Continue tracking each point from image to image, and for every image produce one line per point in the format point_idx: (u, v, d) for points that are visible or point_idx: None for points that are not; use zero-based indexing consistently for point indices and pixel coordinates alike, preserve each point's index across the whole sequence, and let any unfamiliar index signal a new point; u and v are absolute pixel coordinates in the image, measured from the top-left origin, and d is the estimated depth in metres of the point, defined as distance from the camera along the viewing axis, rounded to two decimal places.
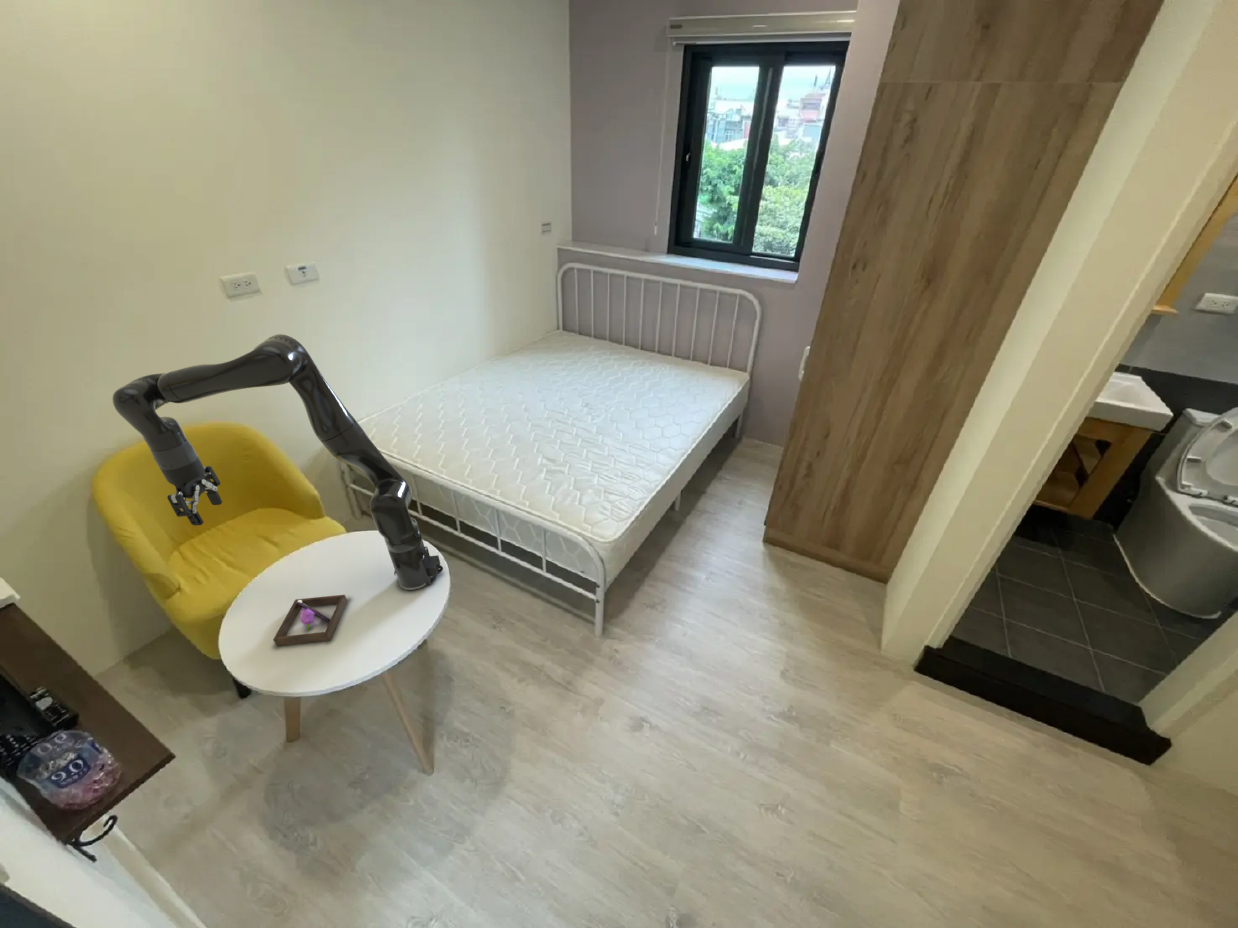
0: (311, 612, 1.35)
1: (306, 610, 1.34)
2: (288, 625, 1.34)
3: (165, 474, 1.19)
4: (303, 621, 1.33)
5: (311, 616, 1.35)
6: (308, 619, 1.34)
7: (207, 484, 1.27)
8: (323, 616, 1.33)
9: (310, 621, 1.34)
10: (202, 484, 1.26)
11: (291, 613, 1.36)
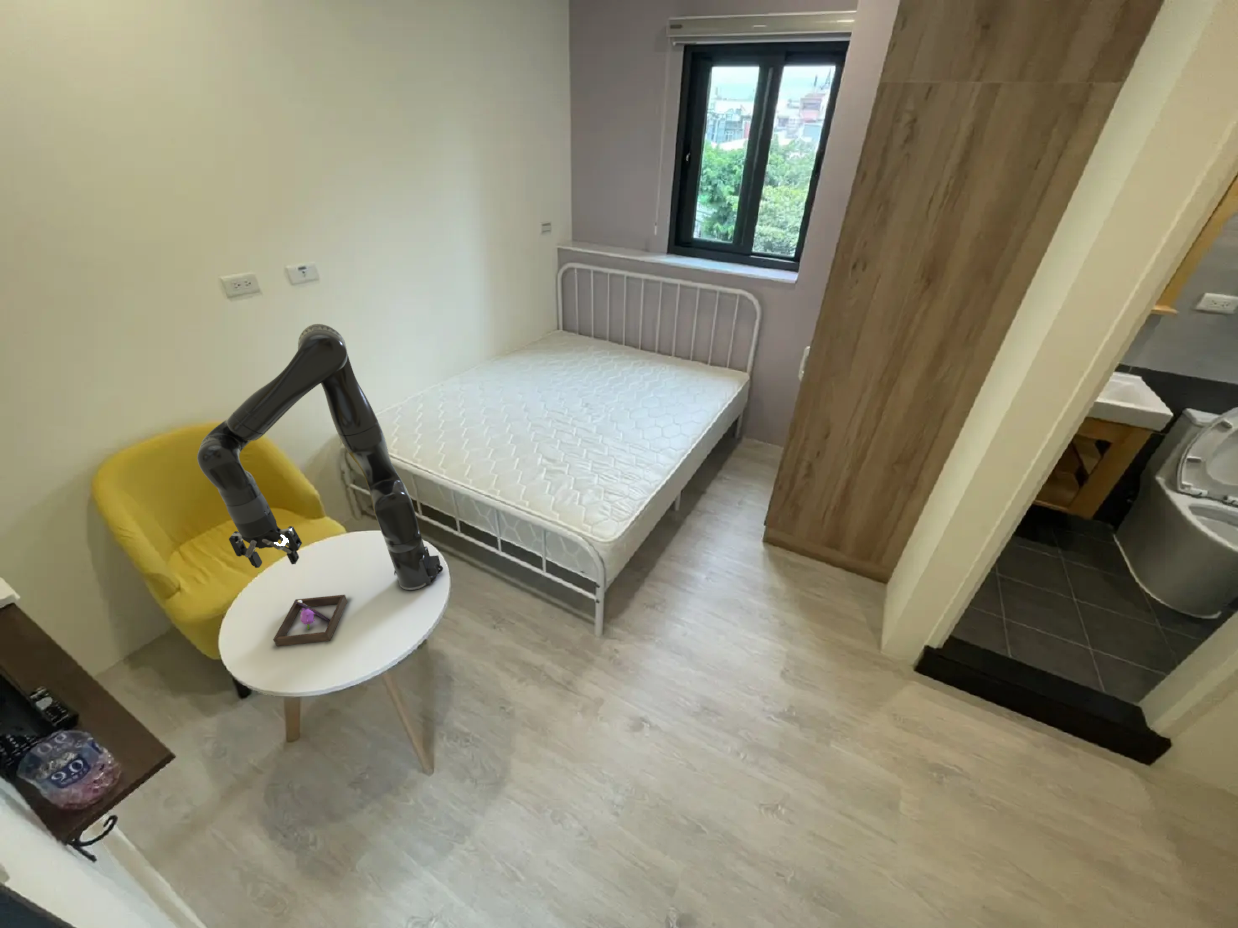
0: (311, 612, 1.35)
1: (306, 610, 1.34)
2: (288, 625, 1.34)
3: None
4: (303, 621, 1.33)
5: (311, 616, 1.35)
6: (308, 619, 1.34)
7: (272, 544, 1.22)
8: (323, 616, 1.33)
9: (310, 621, 1.34)
10: None
11: (291, 613, 1.36)
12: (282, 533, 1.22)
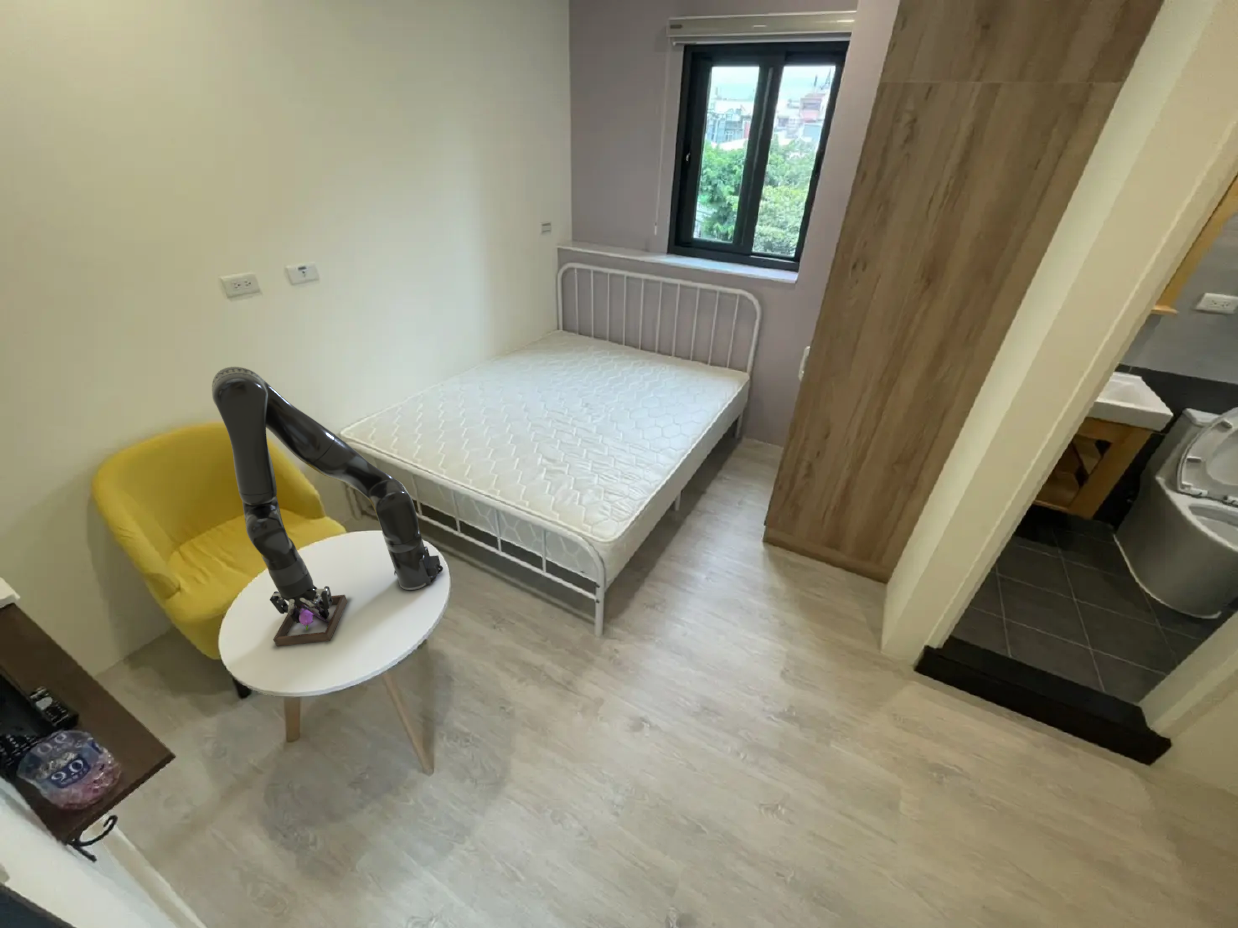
0: (310, 613, 1.34)
1: (305, 611, 1.34)
2: (288, 625, 1.34)
3: None
4: (302, 622, 1.33)
5: (310, 617, 1.34)
6: (307, 620, 1.33)
7: (307, 603, 1.30)
8: (321, 617, 1.33)
9: (309, 622, 1.34)
10: None
11: None
12: (319, 593, 1.31)
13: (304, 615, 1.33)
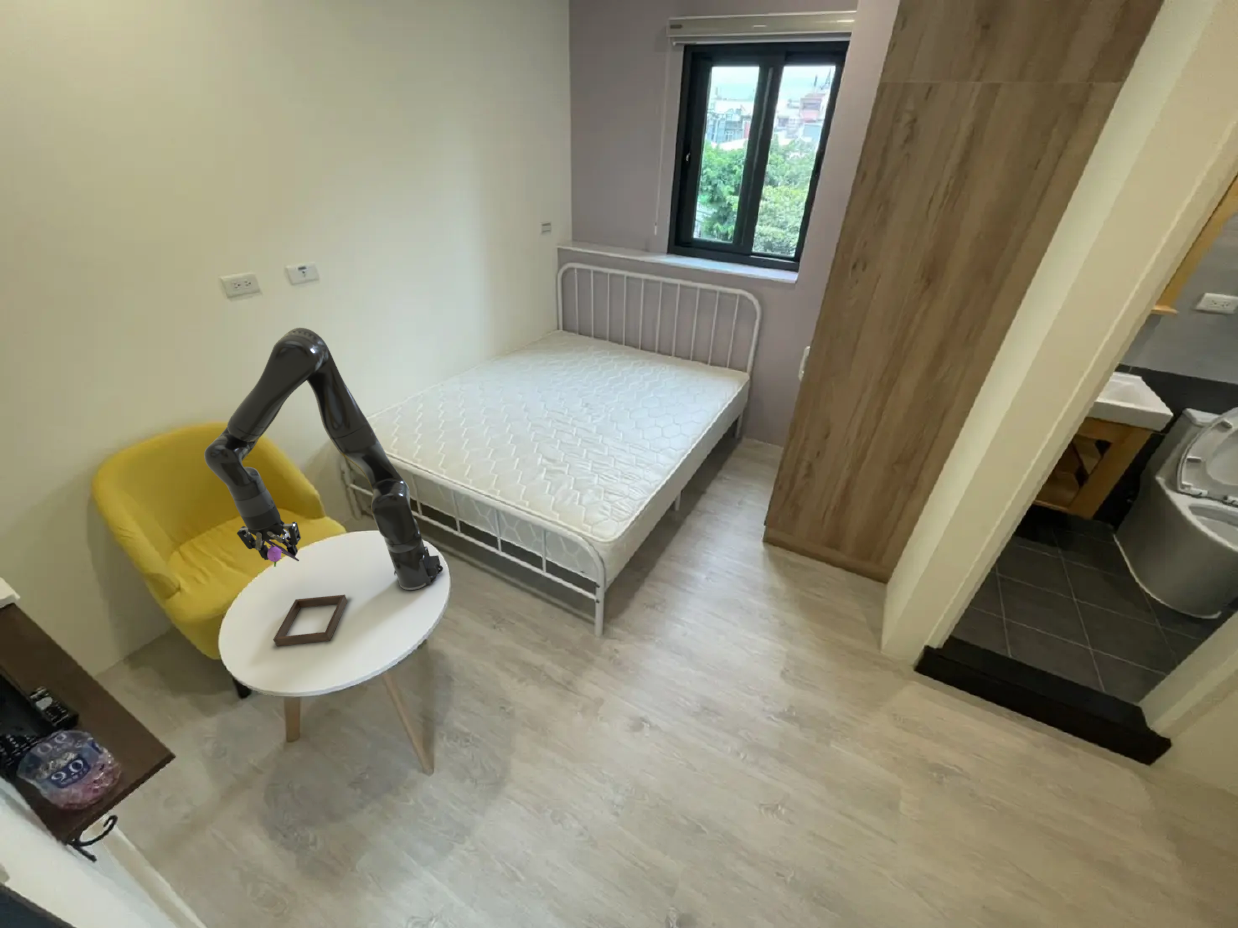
0: (278, 550, 1.35)
1: (273, 547, 1.35)
2: (288, 625, 1.34)
3: None
4: (270, 558, 1.34)
5: (278, 554, 1.35)
6: (275, 556, 1.34)
7: (275, 537, 1.31)
8: (289, 553, 1.33)
9: (277, 558, 1.35)
10: None
11: (291, 613, 1.36)
12: (287, 528, 1.31)
13: (272, 551, 1.34)
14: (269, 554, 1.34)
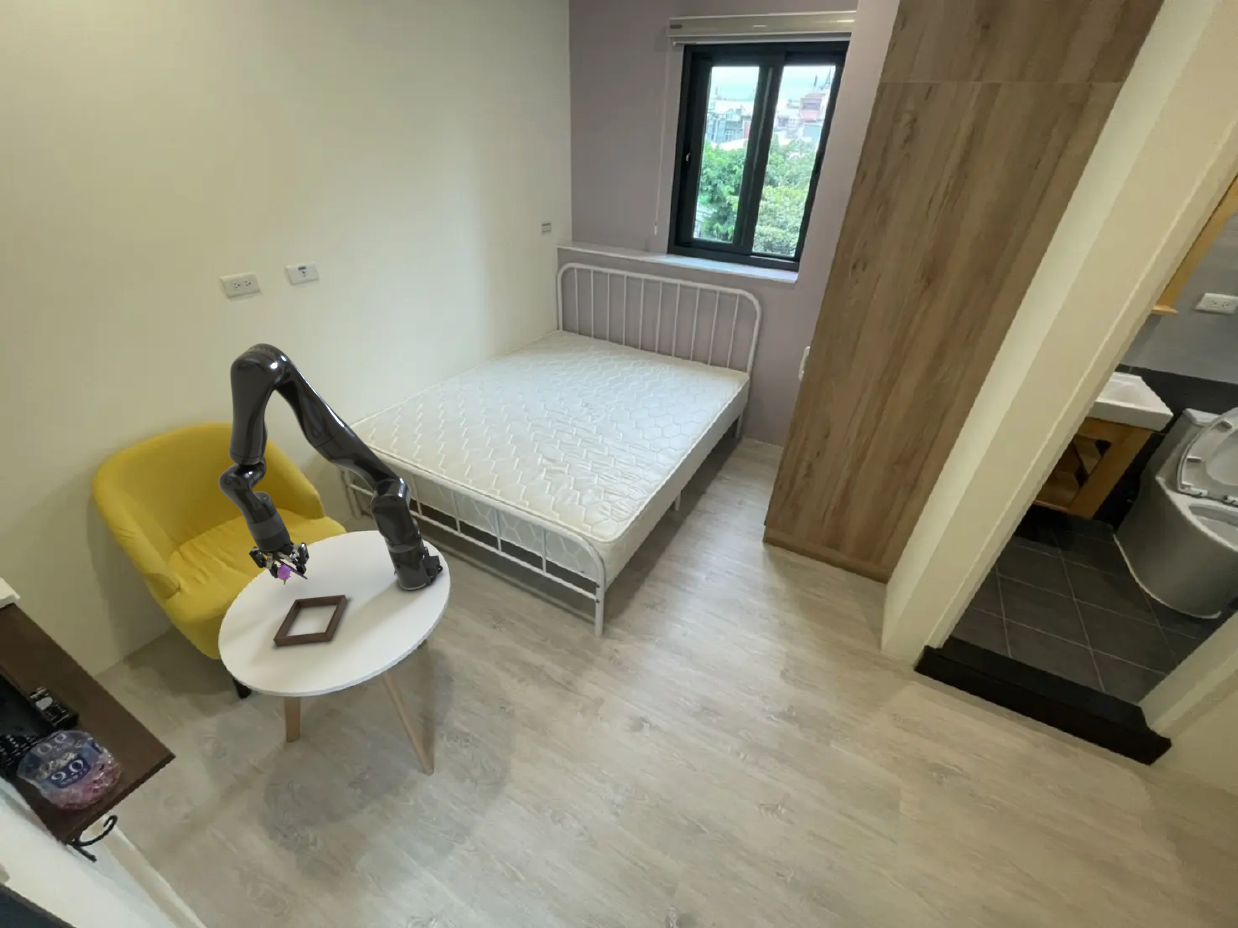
0: (288, 568, 1.42)
1: (283, 566, 1.41)
2: (288, 625, 1.34)
3: None
4: (280, 576, 1.40)
5: (287, 572, 1.42)
6: (284, 575, 1.41)
7: (285, 557, 1.37)
8: (298, 572, 1.40)
9: (286, 577, 1.41)
10: None
11: (291, 613, 1.36)
12: (296, 549, 1.38)
13: (282, 570, 1.41)
14: (279, 573, 1.40)
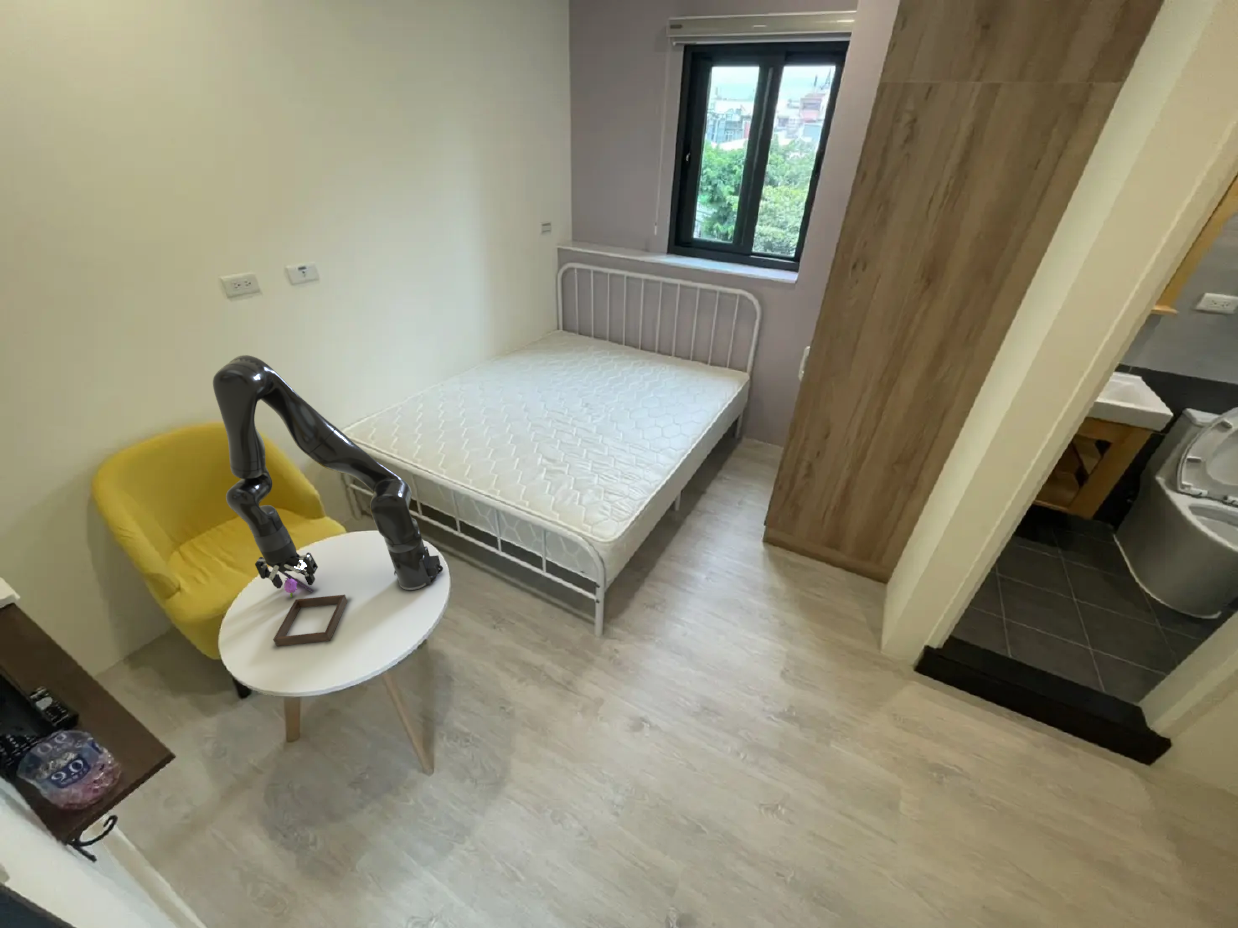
0: (294, 581, 1.44)
1: (289, 579, 1.44)
2: (288, 625, 1.34)
3: None
4: (286, 589, 1.43)
5: (294, 585, 1.44)
6: (291, 588, 1.43)
7: (292, 569, 1.40)
8: (304, 585, 1.43)
9: (293, 590, 1.44)
10: None
11: (291, 613, 1.36)
12: (301, 559, 1.40)
13: (288, 583, 1.43)
14: (286, 586, 1.43)
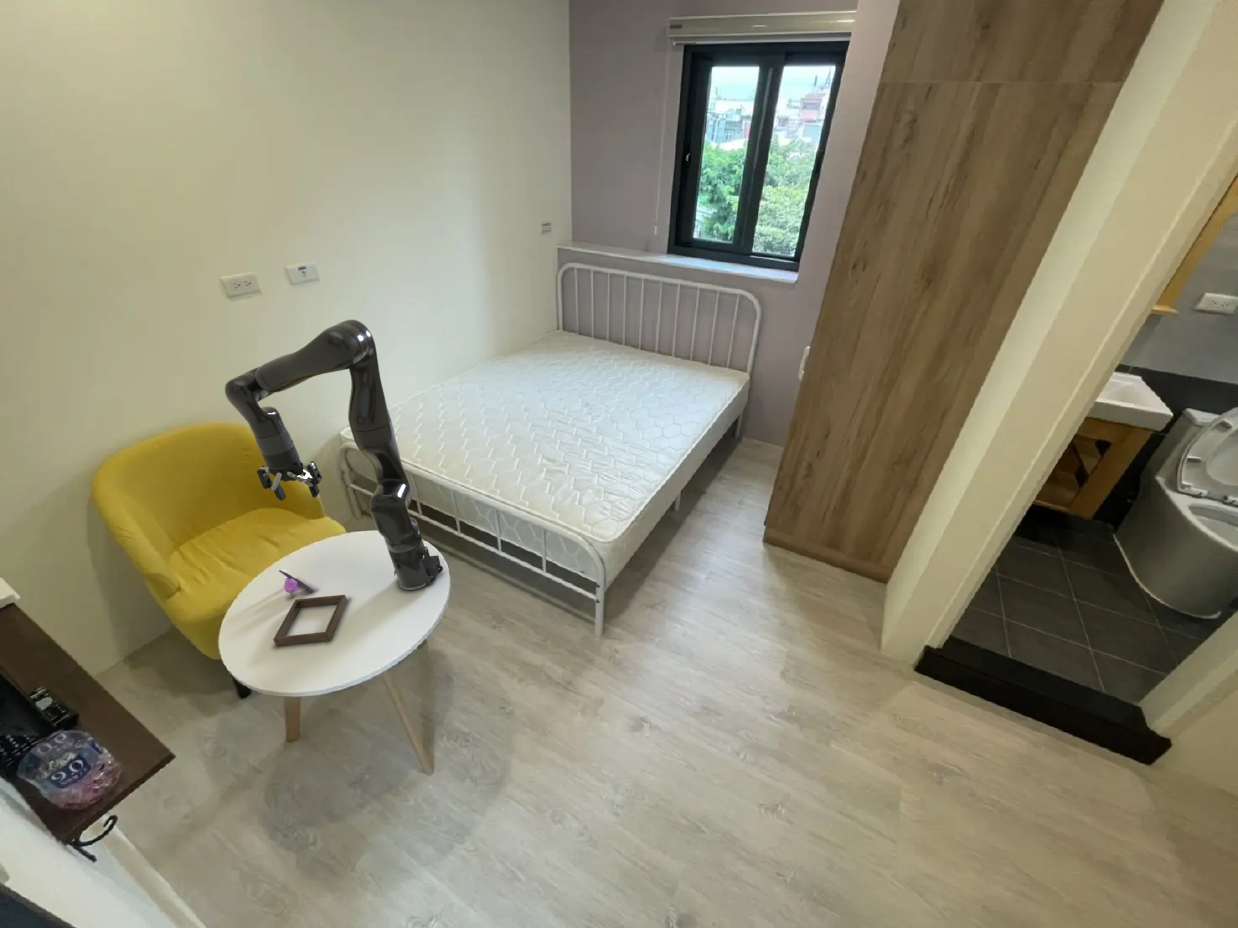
0: (294, 581, 1.44)
1: (289, 579, 1.44)
2: (288, 625, 1.34)
3: None
4: (286, 589, 1.43)
5: (294, 585, 1.44)
6: (291, 588, 1.43)
7: (295, 477, 1.35)
8: (304, 585, 1.43)
9: (293, 590, 1.44)
10: None
11: (291, 613, 1.36)
12: (305, 467, 1.35)
13: (288, 583, 1.43)
14: (286, 586, 1.43)
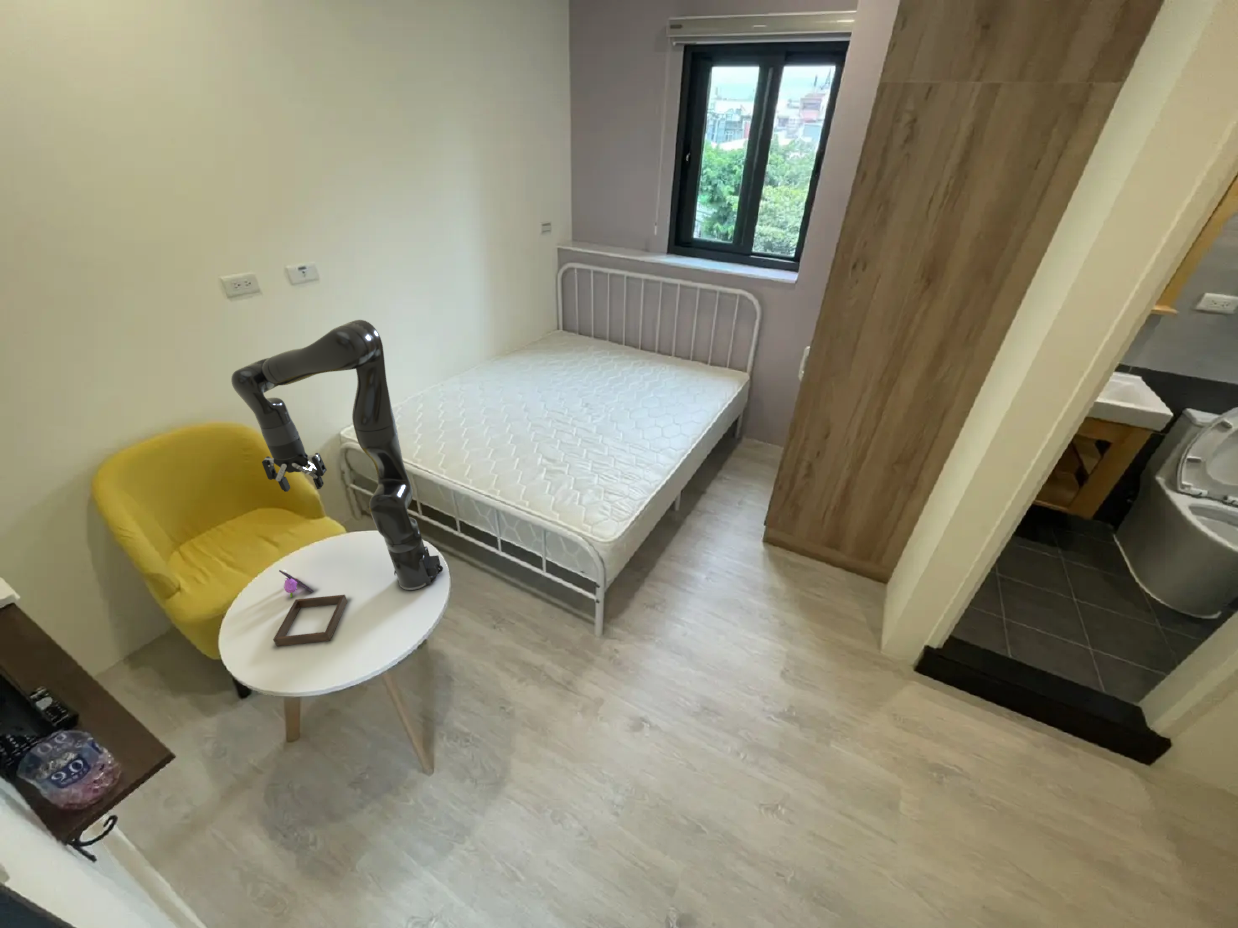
0: (294, 581, 1.44)
1: (289, 579, 1.44)
2: (288, 625, 1.34)
3: None
4: (286, 589, 1.43)
5: (294, 585, 1.44)
6: (291, 588, 1.43)
7: (300, 468, 1.35)
8: (304, 585, 1.43)
9: (293, 590, 1.44)
10: None
11: (291, 613, 1.36)
12: (309, 458, 1.35)
13: (288, 583, 1.43)
14: (286, 586, 1.43)
